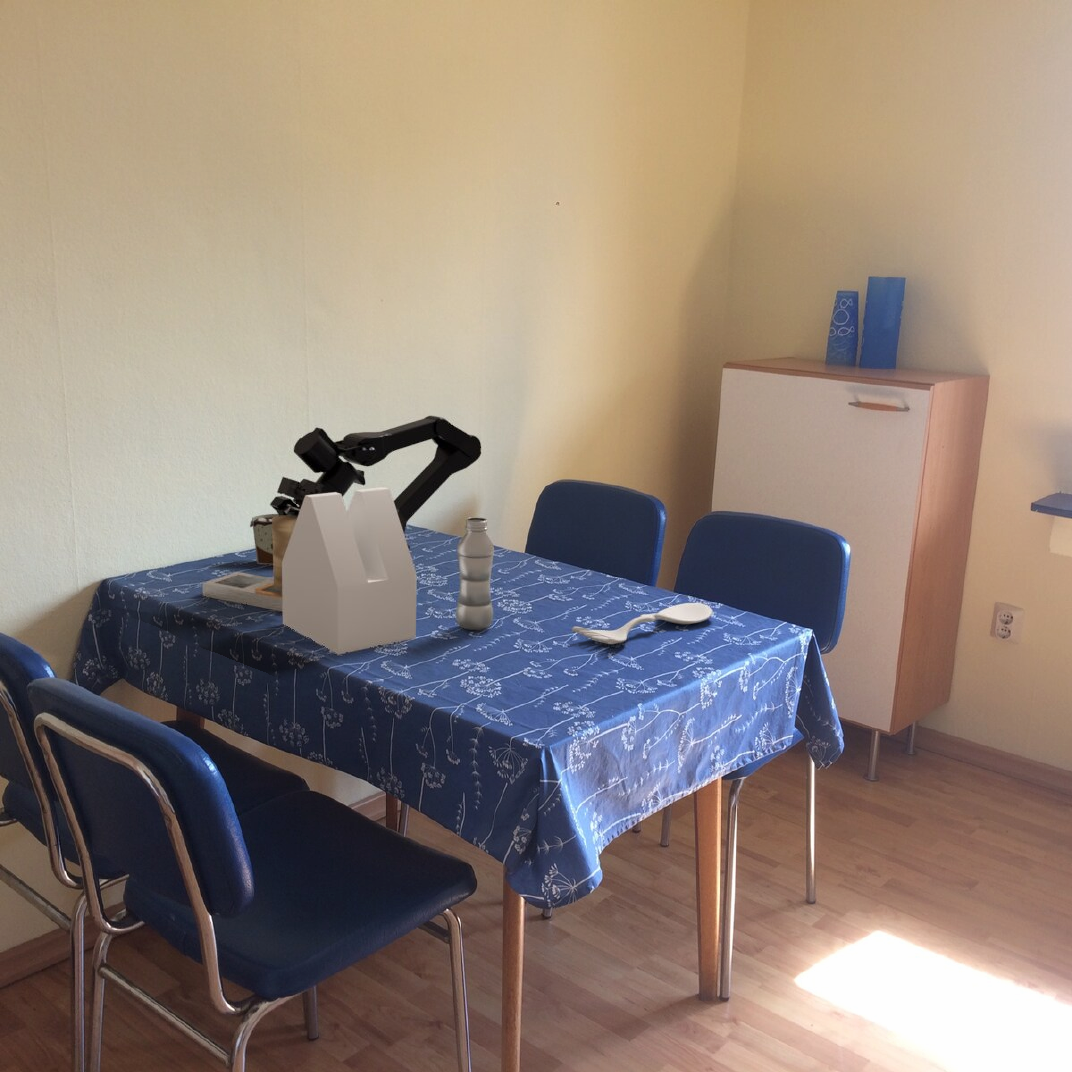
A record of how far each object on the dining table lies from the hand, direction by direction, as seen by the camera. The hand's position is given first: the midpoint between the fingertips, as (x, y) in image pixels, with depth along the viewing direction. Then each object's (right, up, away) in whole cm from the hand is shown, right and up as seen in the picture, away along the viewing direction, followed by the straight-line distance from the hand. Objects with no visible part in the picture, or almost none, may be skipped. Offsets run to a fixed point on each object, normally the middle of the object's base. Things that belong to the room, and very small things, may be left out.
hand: (280, 552), depth 207 cm
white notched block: (+15, -14, -12) cm, 24 cm away
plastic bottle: (+37, -14, -8) cm, 40 cm away
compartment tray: (-4, -9, +5) cm, 11 cm away
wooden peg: (+1, -6, +2) cm, 7 cm away
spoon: (+68, -15, -5) cm, 70 cm away
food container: (-7, -3, +32) cm, 33 cm away
